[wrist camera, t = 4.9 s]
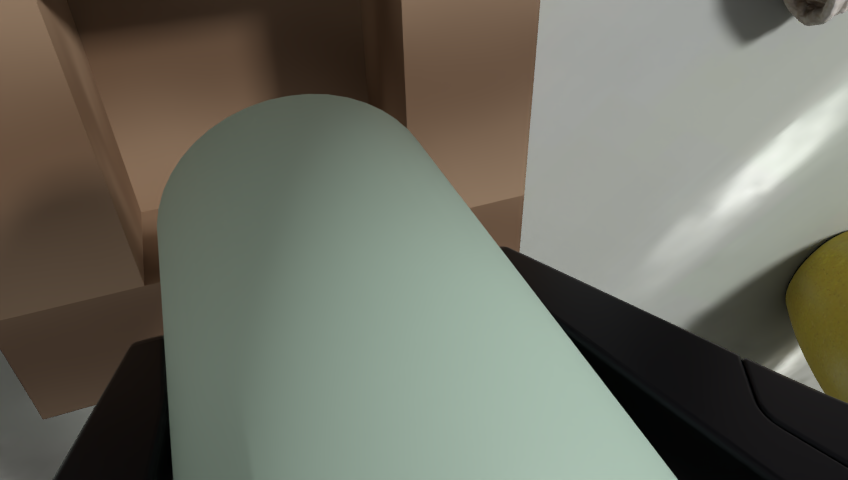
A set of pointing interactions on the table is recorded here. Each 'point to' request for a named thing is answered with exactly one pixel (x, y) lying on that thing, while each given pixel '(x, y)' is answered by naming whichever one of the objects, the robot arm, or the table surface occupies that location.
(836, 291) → the yellow bowl
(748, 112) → the table surface
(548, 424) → the sage peg
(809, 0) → the washcloth
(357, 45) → the walnut socket
